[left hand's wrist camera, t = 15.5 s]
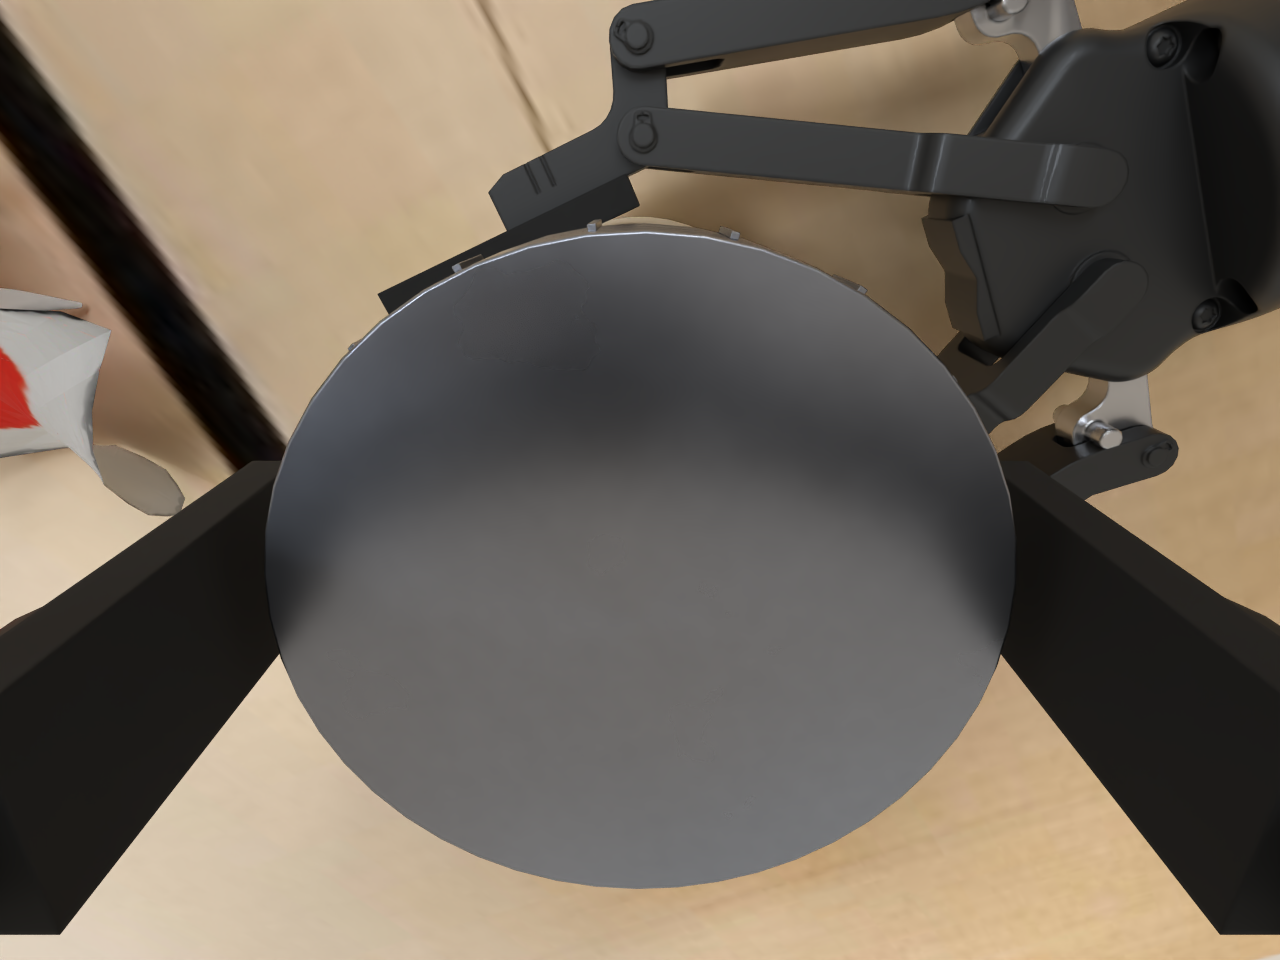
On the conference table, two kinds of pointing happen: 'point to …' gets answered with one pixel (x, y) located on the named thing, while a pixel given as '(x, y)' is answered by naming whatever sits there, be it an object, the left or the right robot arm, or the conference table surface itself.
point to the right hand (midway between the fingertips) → (498, 473)
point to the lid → (640, 557)
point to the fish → (66, 397)
